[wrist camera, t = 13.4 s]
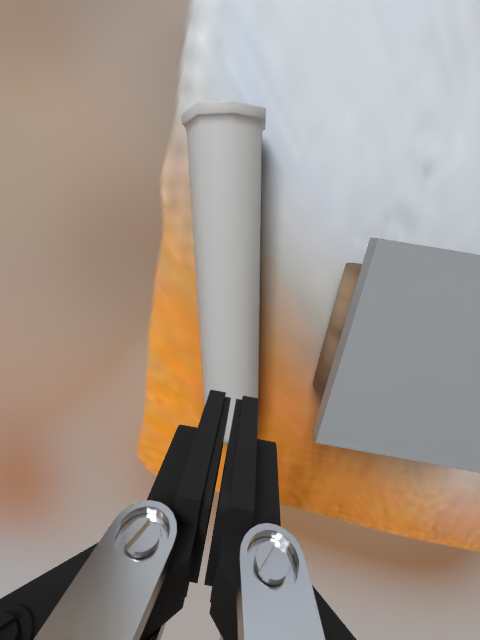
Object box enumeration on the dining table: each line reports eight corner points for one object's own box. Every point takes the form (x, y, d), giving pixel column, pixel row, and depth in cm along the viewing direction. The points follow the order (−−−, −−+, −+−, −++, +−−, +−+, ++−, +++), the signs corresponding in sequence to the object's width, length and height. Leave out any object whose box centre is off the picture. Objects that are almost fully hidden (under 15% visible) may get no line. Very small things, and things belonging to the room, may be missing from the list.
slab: (581, 271, 16) (606, 275, 15) (475, 460, 21) (487, 474, 19) (370, 237, 16) (378, 238, 15) (312, 430, 21) (315, 442, 20)
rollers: (492, 285, 22) (555, 303, 17) (441, 394, 25) (482, 433, 20) (338, 260, 22) (358, 270, 17) (308, 370, 25) (318, 404, 21)
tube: (269, 452, 24) (280, 104, 16) (208, 465, 23) (184, 95, 15) (252, 413, 29) (253, 131, 21) (200, 422, 28) (179, 127, 19)
